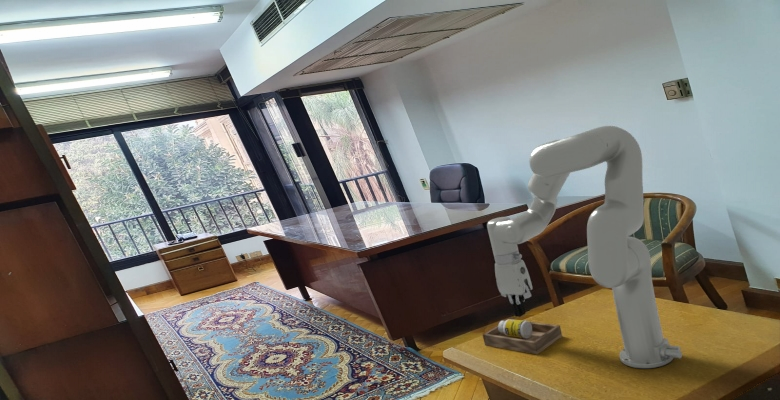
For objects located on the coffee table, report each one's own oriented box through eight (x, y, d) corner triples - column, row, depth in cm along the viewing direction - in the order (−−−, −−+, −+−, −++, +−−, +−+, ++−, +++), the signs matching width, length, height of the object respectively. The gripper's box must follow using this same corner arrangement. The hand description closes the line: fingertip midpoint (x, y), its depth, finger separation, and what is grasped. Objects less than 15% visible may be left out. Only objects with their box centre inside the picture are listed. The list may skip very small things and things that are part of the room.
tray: (562, 336, 161) (559, 325, 161) (537, 354, 153) (534, 343, 153) (510, 329, 177) (507, 319, 176) (484, 345, 169) (482, 334, 168)
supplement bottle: (522, 339, 161) (496, 336, 168) (532, 338, 164) (507, 335, 172) (522, 320, 162) (496, 318, 169) (532, 320, 165) (507, 318, 172)
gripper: (534, 253, 158) (548, 312, 159) (496, 254, 169) (508, 308, 171) (519, 261, 153) (533, 322, 155) (480, 261, 165) (494, 317, 166)
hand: (520, 314), depth 163 cm, fingers closed
